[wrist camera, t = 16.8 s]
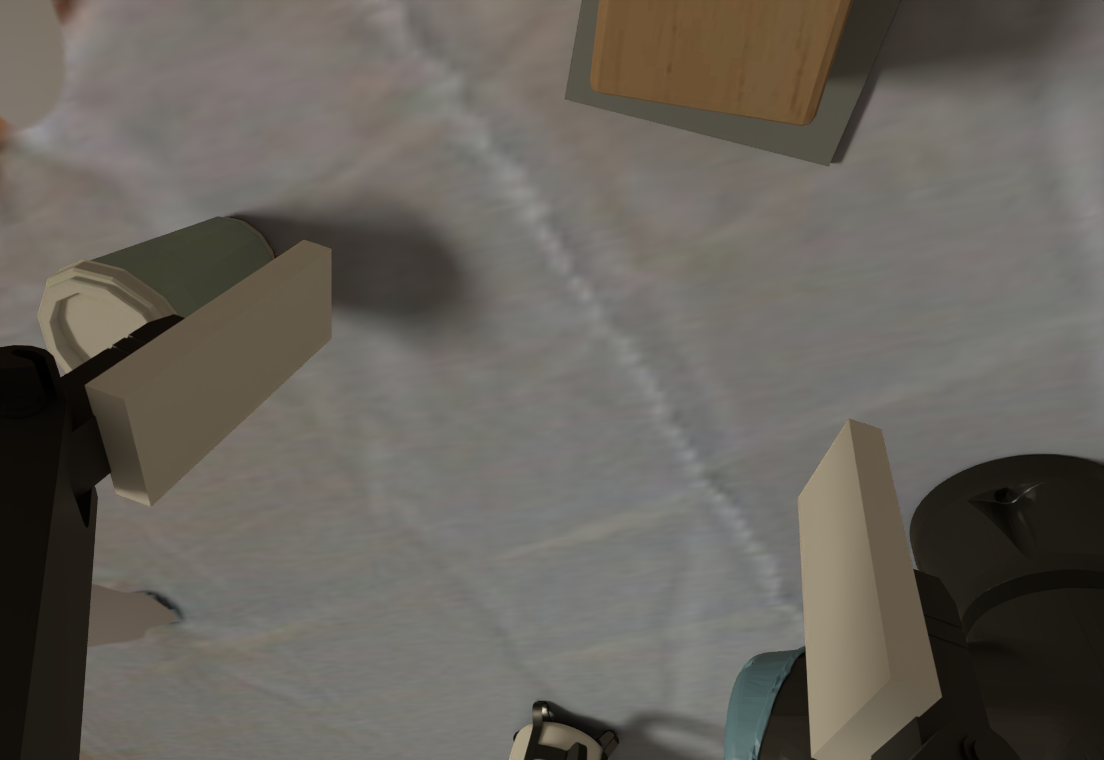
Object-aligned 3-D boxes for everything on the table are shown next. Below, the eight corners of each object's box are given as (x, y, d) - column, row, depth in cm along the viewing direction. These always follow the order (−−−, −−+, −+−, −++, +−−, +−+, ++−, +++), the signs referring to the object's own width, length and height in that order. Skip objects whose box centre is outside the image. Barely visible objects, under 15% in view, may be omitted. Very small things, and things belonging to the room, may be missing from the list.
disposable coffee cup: (188, 166, 50) (9, 243, 38) (315, 230, 50) (177, 327, 39) (184, 276, 57) (31, 372, 45) (297, 332, 57) (174, 442, 45)
